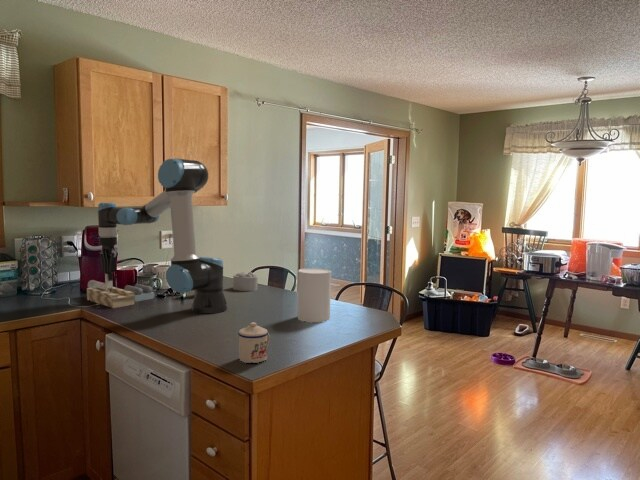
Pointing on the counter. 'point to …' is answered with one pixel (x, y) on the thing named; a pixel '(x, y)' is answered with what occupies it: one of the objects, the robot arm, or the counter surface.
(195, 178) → the robot arm
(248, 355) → the teacup with lid
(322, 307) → the canister
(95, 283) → the axle
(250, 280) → the lumpy-topped squat cylinder
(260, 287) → the counter surface
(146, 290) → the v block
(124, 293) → the beige egg carton
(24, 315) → the counter surface
